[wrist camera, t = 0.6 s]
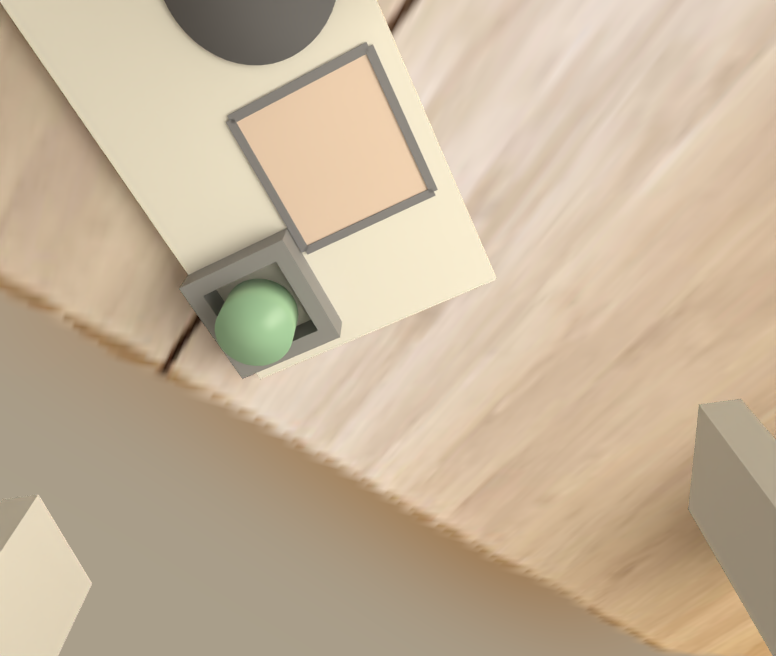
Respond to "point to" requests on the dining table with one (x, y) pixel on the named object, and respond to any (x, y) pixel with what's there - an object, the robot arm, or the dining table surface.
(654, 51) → the dining table surface
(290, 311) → the button
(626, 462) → the dining table surface
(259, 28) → the pad
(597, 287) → the dining table surface
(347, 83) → the cream board
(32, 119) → the dining table surface
